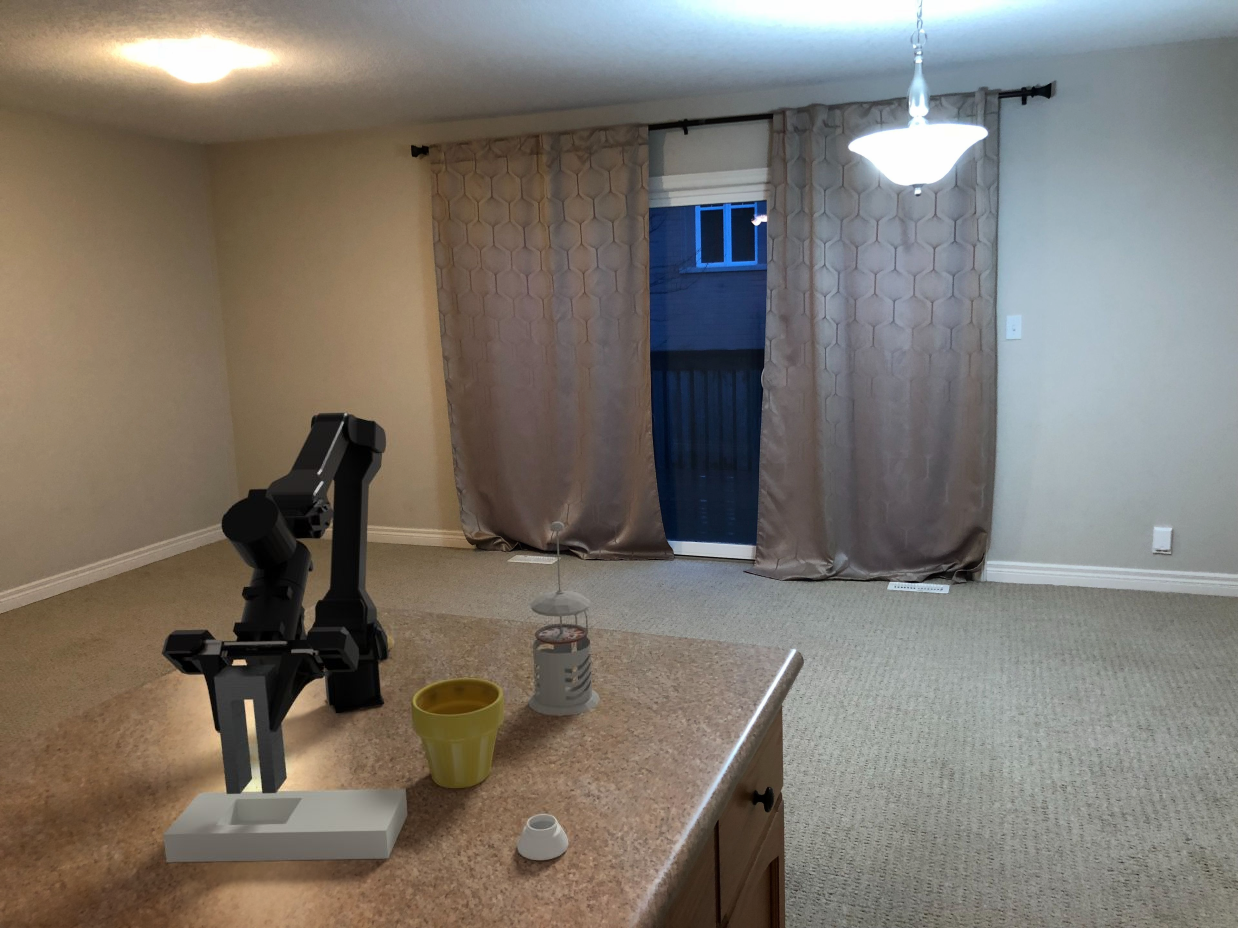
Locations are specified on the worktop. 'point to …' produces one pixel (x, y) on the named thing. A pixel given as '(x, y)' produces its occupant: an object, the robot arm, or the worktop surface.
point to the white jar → (542, 838)
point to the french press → (562, 654)
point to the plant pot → (458, 728)
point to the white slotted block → (288, 826)
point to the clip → (230, 697)
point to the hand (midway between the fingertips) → (245, 731)
